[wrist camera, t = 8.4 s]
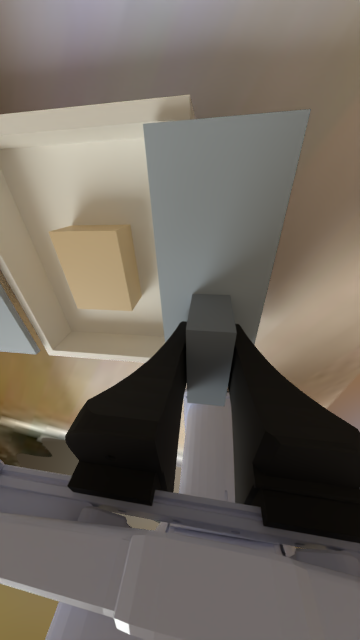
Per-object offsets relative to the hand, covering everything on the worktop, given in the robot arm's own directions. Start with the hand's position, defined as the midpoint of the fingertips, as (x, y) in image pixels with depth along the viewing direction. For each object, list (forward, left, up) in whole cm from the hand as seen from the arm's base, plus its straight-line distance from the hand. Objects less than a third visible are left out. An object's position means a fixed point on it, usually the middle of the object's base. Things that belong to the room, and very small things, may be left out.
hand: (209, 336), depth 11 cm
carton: (+3, +7, -4) cm, 9 cm away
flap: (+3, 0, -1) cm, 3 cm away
